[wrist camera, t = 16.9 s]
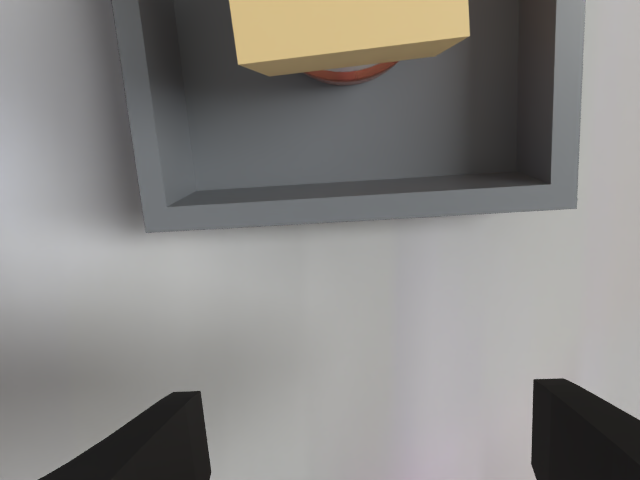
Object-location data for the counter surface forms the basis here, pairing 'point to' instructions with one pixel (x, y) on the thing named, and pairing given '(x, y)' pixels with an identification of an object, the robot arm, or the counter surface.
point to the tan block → (342, 32)
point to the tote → (351, 123)
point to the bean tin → (351, 73)
